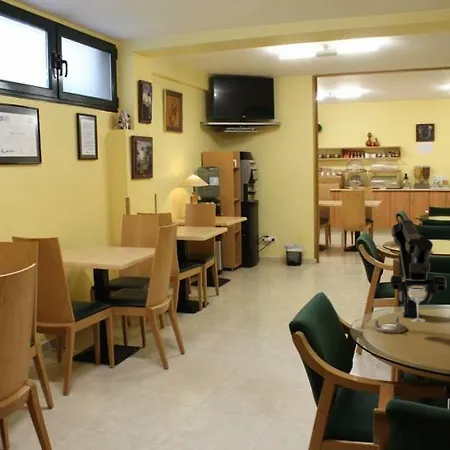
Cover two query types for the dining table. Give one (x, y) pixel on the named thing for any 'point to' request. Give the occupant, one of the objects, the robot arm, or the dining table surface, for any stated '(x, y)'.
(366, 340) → the dining table surface
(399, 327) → the glass stand
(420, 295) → the wineglass
